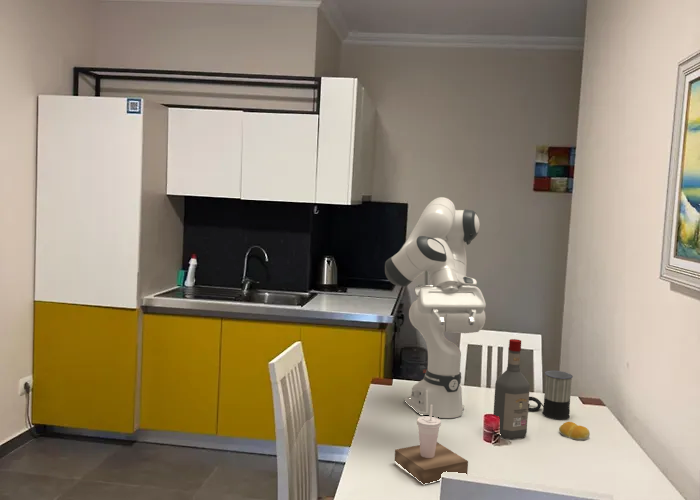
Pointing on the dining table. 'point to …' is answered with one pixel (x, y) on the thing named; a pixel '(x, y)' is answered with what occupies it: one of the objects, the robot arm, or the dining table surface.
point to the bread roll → (574, 431)
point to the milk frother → (555, 396)
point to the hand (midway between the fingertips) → (456, 324)
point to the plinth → (430, 462)
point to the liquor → (512, 396)
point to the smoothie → (428, 434)
